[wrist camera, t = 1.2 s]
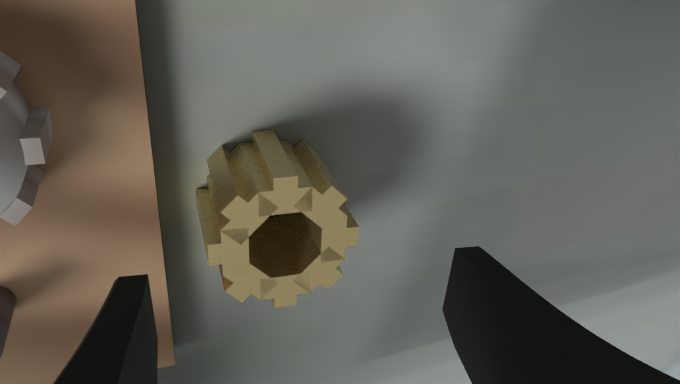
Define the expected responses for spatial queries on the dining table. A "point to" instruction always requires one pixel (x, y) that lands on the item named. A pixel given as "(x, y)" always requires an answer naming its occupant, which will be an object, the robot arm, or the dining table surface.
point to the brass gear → (274, 220)
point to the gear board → (72, 180)
